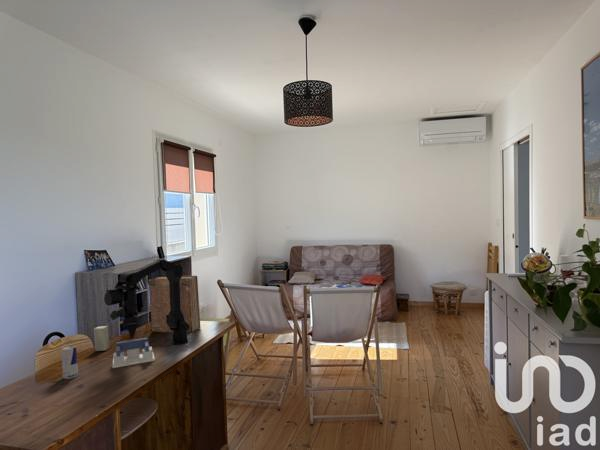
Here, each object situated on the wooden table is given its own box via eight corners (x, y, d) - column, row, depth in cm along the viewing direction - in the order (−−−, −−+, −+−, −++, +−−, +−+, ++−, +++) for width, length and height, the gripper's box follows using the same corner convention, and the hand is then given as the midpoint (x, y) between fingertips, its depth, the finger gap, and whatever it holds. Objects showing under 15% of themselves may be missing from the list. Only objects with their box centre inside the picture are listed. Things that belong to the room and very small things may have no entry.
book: (200, 328, 231) (197, 275, 230) (192, 333, 222) (188, 278, 221) (161, 327, 238) (158, 276, 237) (151, 332, 229) (148, 278, 228)
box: (110, 347, 204) (108, 325, 204) (105, 350, 200) (103, 328, 200) (100, 348, 205) (98, 326, 204) (94, 351, 200) (93, 328, 200)
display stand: (113, 360, 184) (112, 349, 184) (153, 354, 191) (152, 343, 191) (112, 368, 175) (111, 356, 175) (154, 360, 182) (153, 349, 181)
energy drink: (81, 374, 170) (79, 345, 169) (70, 379, 165) (68, 350, 164) (71, 373, 171) (69, 345, 171) (60, 378, 166) (58, 349, 166)
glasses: (117, 350, 183) (116, 342, 183) (148, 345, 188) (147, 337, 188) (116, 356, 174) (116, 348, 174) (149, 351, 179) (148, 343, 179)
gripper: (110, 299, 190) (112, 333, 190) (109, 307, 173) (111, 344, 173) (136, 296, 194) (138, 329, 194) (137, 303, 177) (139, 339, 177)
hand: (131, 335), depth 185 cm, fingers open, 9 cm apart
